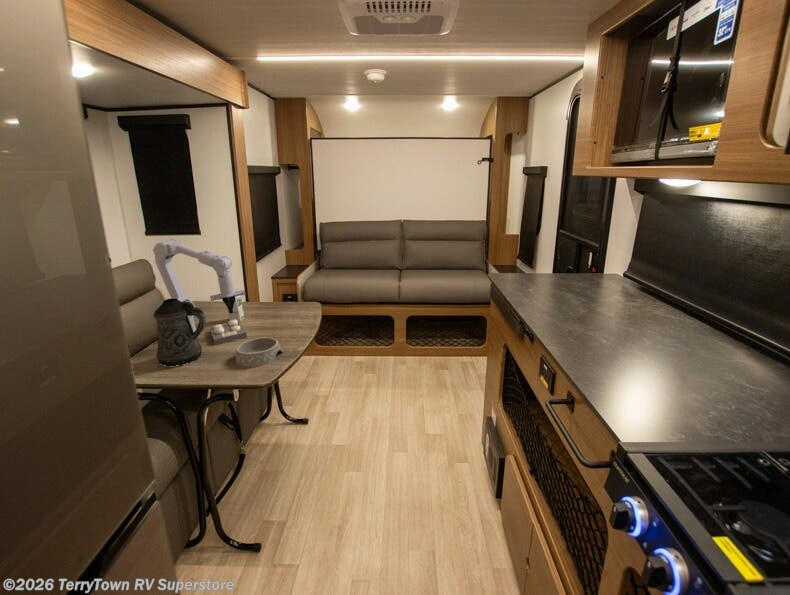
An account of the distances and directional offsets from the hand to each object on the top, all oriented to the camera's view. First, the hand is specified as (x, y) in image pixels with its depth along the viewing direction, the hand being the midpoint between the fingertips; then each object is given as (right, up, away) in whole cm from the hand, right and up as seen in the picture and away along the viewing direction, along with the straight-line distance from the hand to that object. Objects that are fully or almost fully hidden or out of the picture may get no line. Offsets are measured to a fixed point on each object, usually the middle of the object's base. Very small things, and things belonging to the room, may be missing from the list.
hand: (231, 312), depth 186 cm
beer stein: (-11, -18, -19) cm, 28 cm away
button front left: (-4, -10, -1) cm, 11 cm away
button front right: (+2, -9, +2) cm, 10 cm away
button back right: (-2, -7, +8) cm, 11 cm away
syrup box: (-5, -5, +21) cm, 22 cm away
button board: (-2, -10, +3) cm, 11 cm away
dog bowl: (+20, -17, -22) cm, 34 cm away
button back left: (-8, -9, +5) cm, 13 cm away
